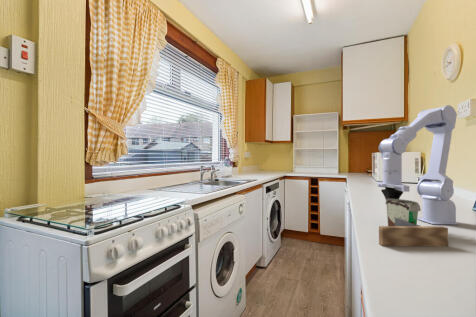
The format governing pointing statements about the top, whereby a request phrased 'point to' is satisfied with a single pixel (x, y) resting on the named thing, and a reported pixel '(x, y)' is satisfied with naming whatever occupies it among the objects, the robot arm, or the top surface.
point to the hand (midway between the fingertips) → (392, 209)
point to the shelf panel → (413, 236)
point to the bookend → (403, 223)
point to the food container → (402, 210)
